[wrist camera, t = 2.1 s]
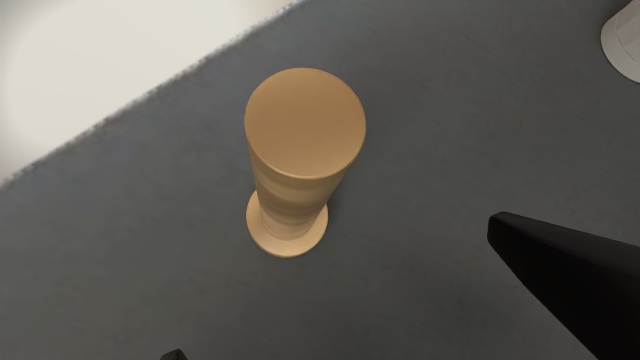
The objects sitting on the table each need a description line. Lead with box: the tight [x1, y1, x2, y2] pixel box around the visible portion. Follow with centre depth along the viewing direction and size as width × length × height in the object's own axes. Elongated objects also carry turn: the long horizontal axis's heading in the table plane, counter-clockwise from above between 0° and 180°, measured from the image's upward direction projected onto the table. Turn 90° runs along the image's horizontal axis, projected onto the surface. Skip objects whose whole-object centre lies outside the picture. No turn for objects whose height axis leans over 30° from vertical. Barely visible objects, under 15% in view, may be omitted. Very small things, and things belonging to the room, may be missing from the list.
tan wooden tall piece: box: [244, 68, 366, 258], centre depth 14 cm, size 4×4×13 cm
